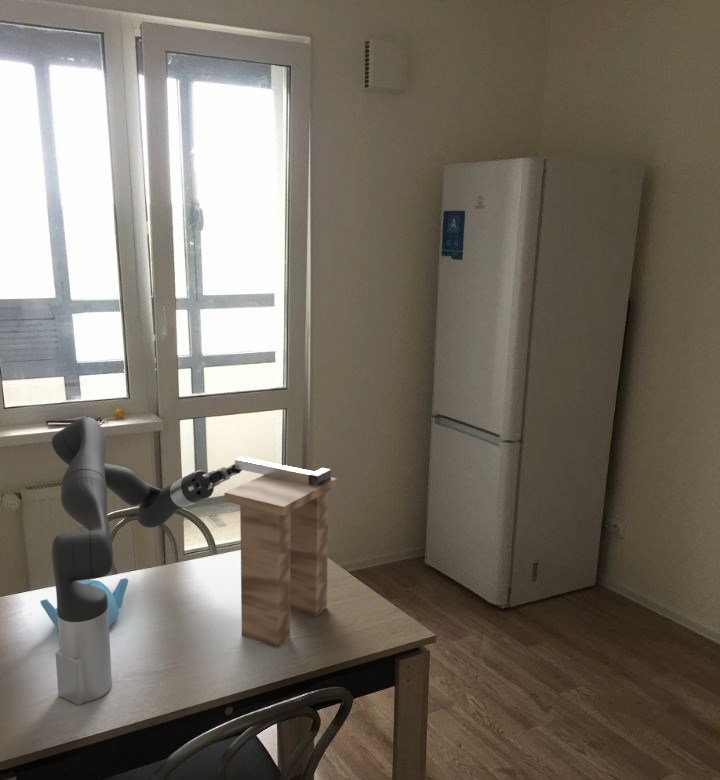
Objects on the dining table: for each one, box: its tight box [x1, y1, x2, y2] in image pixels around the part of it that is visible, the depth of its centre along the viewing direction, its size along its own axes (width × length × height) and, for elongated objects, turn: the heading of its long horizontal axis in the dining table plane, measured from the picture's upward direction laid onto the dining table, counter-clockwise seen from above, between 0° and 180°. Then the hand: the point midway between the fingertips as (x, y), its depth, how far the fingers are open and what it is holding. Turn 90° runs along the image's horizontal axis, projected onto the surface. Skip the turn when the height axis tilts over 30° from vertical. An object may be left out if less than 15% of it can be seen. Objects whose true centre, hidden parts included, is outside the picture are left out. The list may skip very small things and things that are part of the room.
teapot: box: [39, 577, 129, 629], centre depth 165 cm, size 15×15×11 cm
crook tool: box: [234, 456, 332, 486], centre depth 170 cm, size 6×24×2 cm, turn 61°
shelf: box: [224, 474, 338, 649], centre depth 166 cm, size 22×16×34 cm
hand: (233, 469), depth 176 cm, fingers open, 8 cm apart
